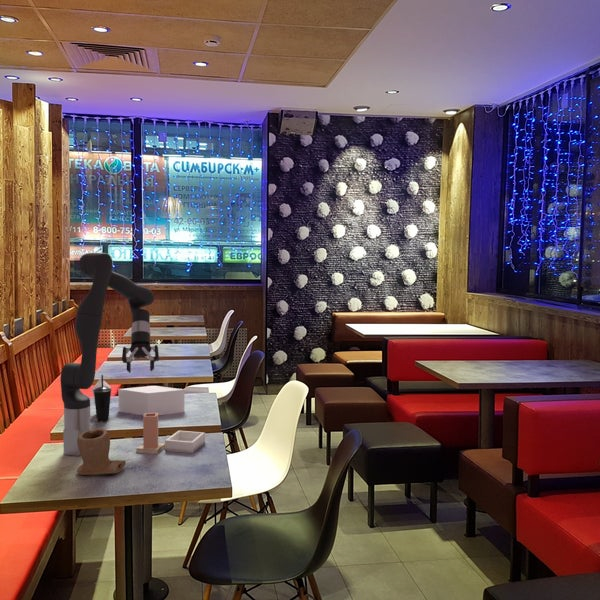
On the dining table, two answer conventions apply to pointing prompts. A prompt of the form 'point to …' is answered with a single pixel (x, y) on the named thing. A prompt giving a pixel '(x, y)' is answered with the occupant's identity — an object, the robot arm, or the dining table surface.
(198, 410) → the dining table surface
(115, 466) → the brown hollow piece
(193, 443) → the tray
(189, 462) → the dining table surface
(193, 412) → the dining table surface
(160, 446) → the stake board
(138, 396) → the block
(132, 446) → the dining table surface
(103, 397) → the drinking cup
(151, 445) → the sleeve
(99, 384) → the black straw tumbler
